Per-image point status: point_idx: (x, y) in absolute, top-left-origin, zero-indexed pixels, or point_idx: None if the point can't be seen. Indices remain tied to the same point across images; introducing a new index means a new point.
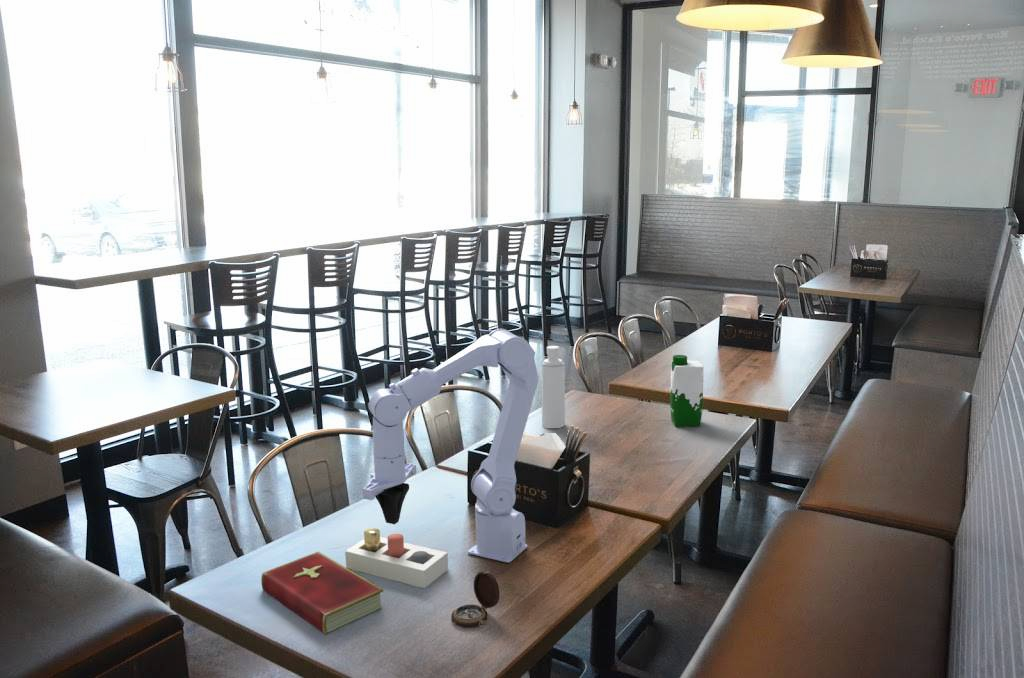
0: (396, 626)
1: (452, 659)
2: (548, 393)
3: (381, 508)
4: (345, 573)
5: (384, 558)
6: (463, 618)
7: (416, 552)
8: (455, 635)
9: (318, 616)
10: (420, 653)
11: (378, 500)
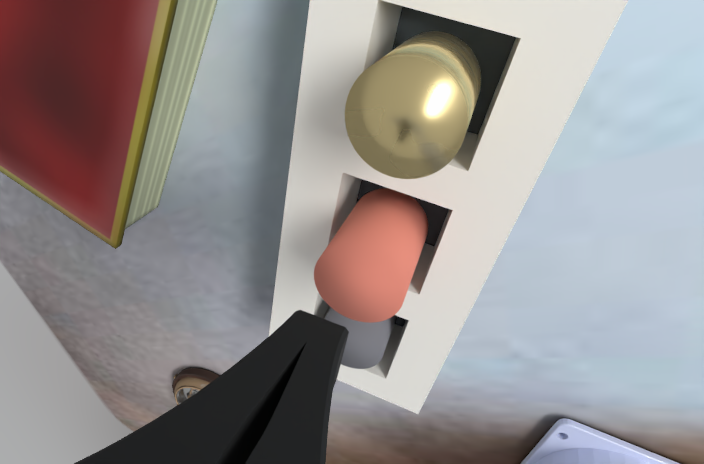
0: (114, 263)
1: (95, 366)
2: None
3: (209, 384)
4: (123, 61)
5: (305, 200)
6: (175, 399)
7: (366, 330)
8: (153, 371)
9: None
10: (75, 319)
11: (102, 458)
